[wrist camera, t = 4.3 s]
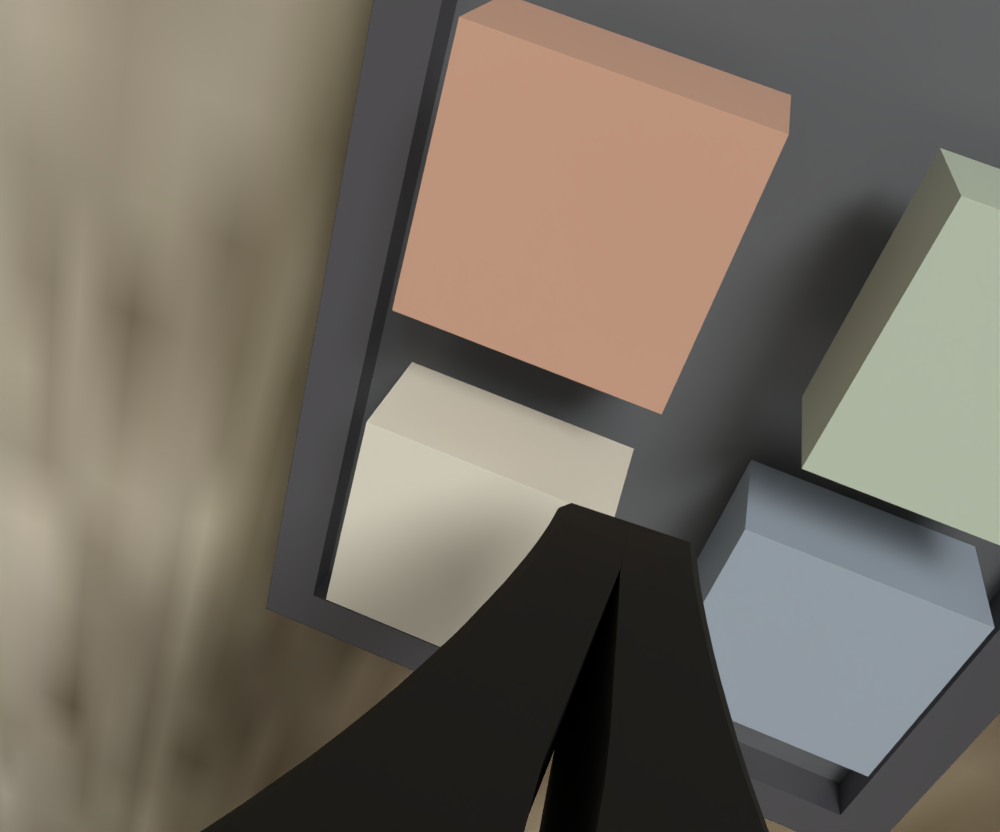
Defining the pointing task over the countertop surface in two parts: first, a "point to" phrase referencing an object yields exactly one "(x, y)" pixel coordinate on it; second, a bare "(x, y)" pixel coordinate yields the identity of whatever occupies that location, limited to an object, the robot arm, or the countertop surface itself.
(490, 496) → the key cream
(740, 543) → the key slate
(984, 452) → the key sage
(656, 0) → the dark grey tray
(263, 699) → the countertop surface
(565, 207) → the key terracotta
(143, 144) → the countertop surface
